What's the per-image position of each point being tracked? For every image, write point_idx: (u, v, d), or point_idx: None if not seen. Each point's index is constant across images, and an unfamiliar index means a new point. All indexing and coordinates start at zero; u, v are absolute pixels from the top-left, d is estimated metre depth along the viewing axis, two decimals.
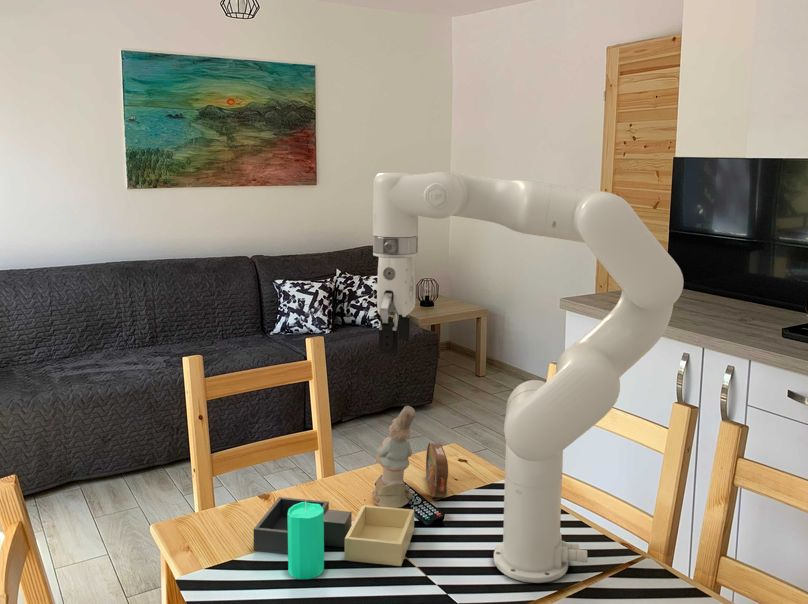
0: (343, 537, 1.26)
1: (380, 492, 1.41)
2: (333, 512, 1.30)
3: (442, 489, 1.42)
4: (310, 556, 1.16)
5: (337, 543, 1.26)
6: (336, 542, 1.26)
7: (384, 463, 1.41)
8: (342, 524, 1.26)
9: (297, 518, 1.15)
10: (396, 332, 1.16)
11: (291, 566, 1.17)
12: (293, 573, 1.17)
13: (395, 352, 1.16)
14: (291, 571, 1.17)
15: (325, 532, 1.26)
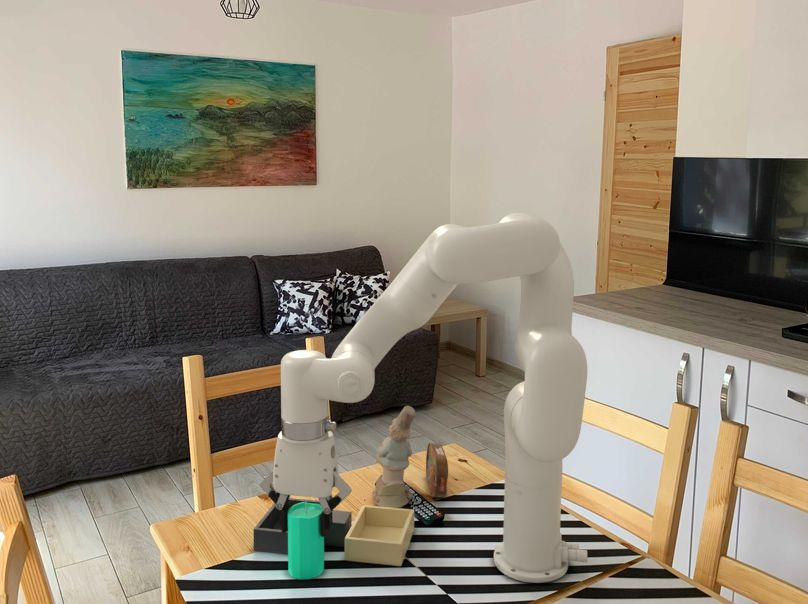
0: (343, 537, 1.26)
1: (380, 492, 1.41)
2: (333, 512, 1.30)
3: (442, 489, 1.42)
4: (311, 556, 1.16)
5: (337, 543, 1.26)
6: (336, 542, 1.26)
7: (384, 463, 1.41)
8: (342, 524, 1.26)
9: (297, 518, 1.15)
10: None
11: (291, 566, 1.17)
12: (293, 573, 1.17)
13: None
14: (291, 571, 1.17)
15: None
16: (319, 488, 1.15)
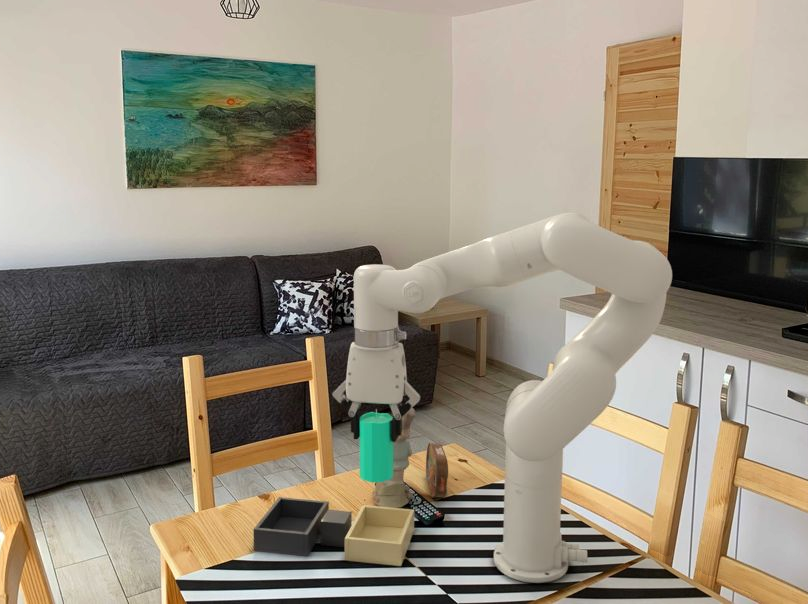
0: (343, 537, 1.26)
1: (380, 492, 1.41)
2: (333, 512, 1.30)
3: (442, 489, 1.42)
4: (382, 460, 1.22)
5: (337, 543, 1.26)
6: (336, 542, 1.26)
7: None
8: (342, 524, 1.26)
9: (370, 423, 1.21)
10: None
11: (363, 471, 1.23)
12: (365, 477, 1.23)
13: None
14: (363, 475, 1.23)
15: (325, 532, 1.26)
16: (391, 394, 1.20)
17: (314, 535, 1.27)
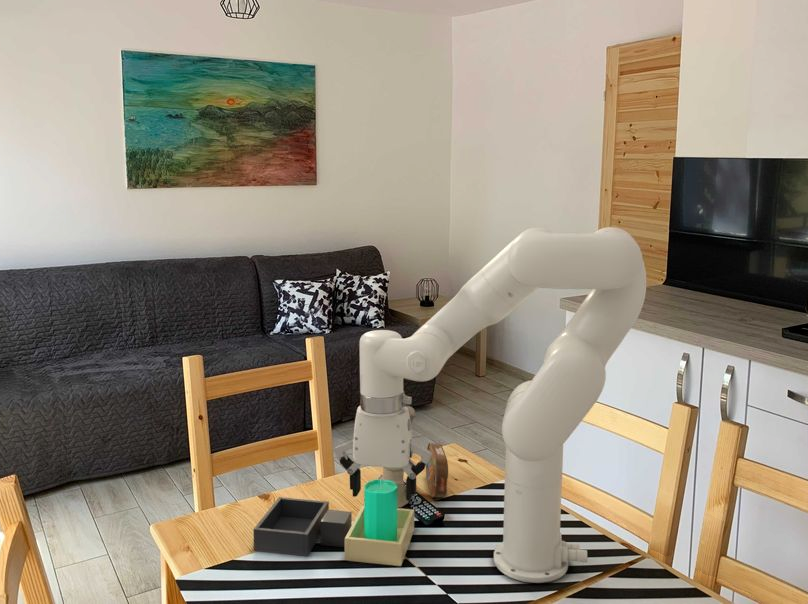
0: (343, 537, 1.26)
1: None
2: (333, 512, 1.30)
3: (442, 489, 1.42)
4: (386, 529, 1.24)
5: (337, 543, 1.26)
6: (336, 542, 1.26)
7: None
8: (342, 524, 1.26)
9: (374, 493, 1.23)
10: None
11: (367, 538, 1.25)
12: None
13: None
14: None
15: (325, 532, 1.26)
16: (397, 459, 1.22)
17: (314, 535, 1.27)
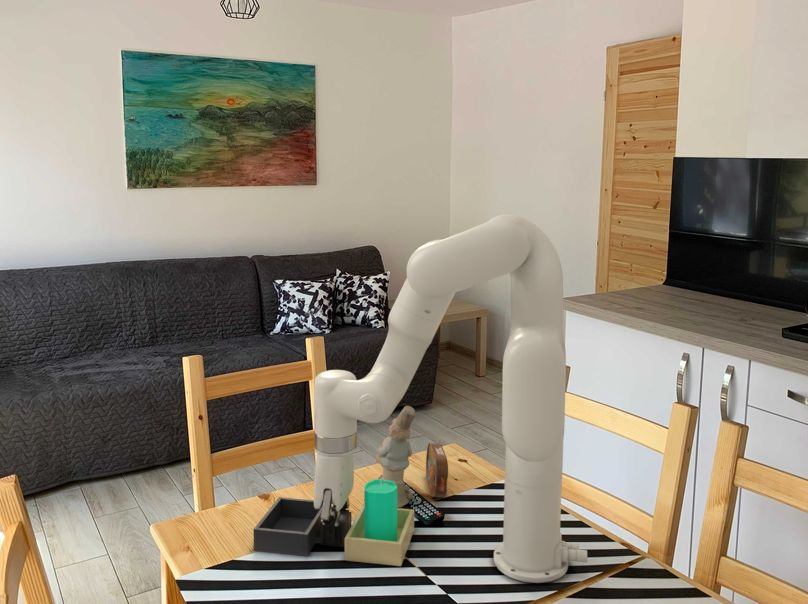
0: (343, 537, 1.26)
1: None
2: (333, 512, 1.30)
3: (442, 489, 1.42)
4: (386, 529, 1.24)
5: None
6: None
7: (384, 463, 1.41)
8: (342, 524, 1.26)
9: (374, 493, 1.23)
10: None
11: (367, 538, 1.25)
12: None
13: None
14: None
15: None
16: (352, 483, 1.30)
17: (314, 535, 1.27)
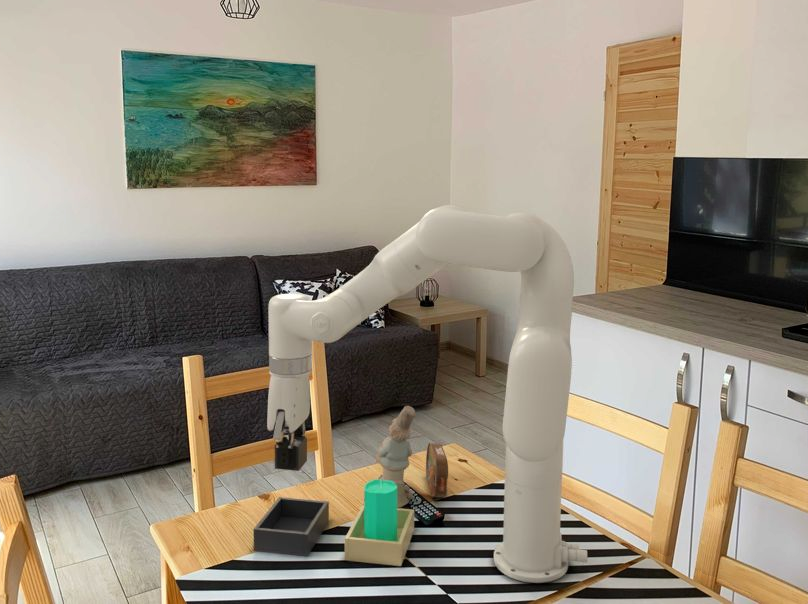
0: (297, 461, 1.26)
1: None
2: (288, 437, 1.29)
3: (442, 489, 1.42)
4: (386, 529, 1.24)
5: None
6: None
7: (384, 463, 1.41)
8: (296, 447, 1.25)
9: (374, 493, 1.23)
10: None
11: (367, 538, 1.25)
12: None
13: None
14: None
15: None
16: (308, 409, 1.30)
17: (314, 535, 1.27)
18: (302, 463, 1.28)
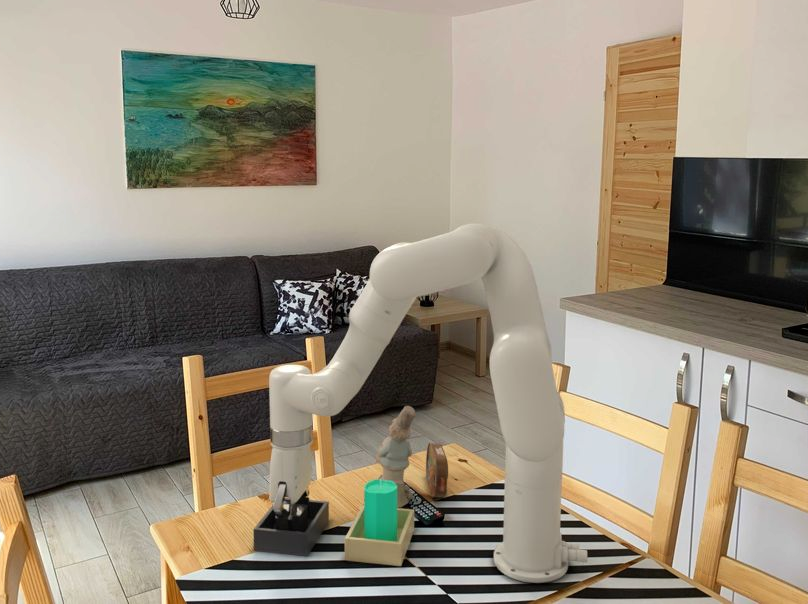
0: (298, 530, 1.27)
1: None
2: None
3: (442, 489, 1.42)
4: (386, 529, 1.24)
5: None
6: None
7: (384, 463, 1.41)
8: (297, 517, 1.27)
9: (374, 493, 1.23)
10: None
11: (367, 538, 1.25)
12: None
13: None
14: None
15: None
16: (309, 477, 1.31)
17: (314, 535, 1.27)
18: None
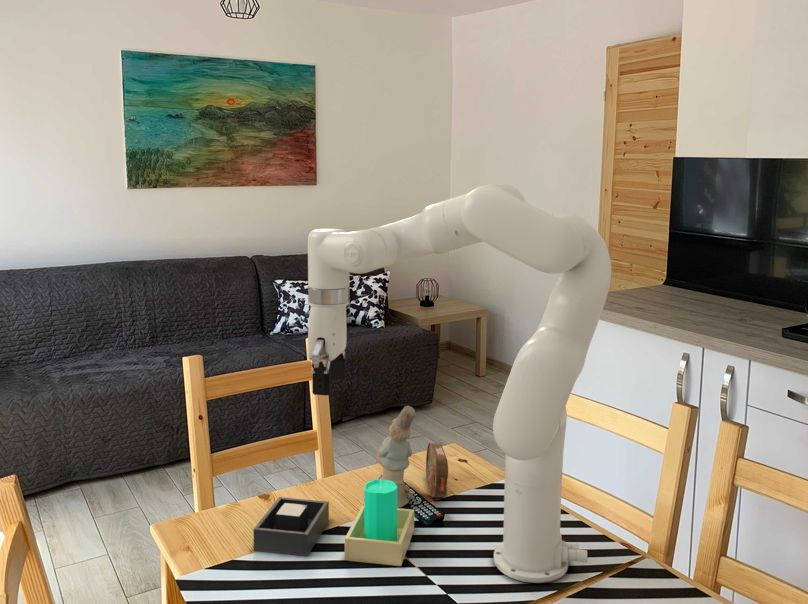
0: (298, 530, 1.27)
1: None
2: (289, 505, 1.31)
3: (442, 489, 1.42)
4: (386, 529, 1.24)
5: None
6: None
7: (384, 463, 1.41)
8: (297, 517, 1.27)
9: (374, 493, 1.23)
10: None
11: (367, 538, 1.25)
12: None
13: None
14: None
15: (280, 525, 1.28)
16: (345, 342, 1.35)
17: (314, 535, 1.27)
18: None
